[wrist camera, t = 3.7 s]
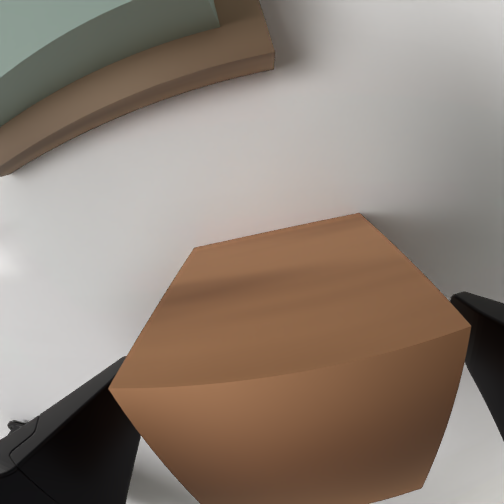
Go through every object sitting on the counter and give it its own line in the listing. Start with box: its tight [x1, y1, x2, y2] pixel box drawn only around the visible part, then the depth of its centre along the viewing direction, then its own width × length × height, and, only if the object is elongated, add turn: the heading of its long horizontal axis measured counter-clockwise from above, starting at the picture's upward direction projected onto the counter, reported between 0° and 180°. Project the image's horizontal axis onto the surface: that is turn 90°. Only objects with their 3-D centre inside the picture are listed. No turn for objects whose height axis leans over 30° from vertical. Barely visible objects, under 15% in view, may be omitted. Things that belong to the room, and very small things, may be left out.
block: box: [108, 213, 471, 504], centre depth 7 cm, size 5×5×6 cm
